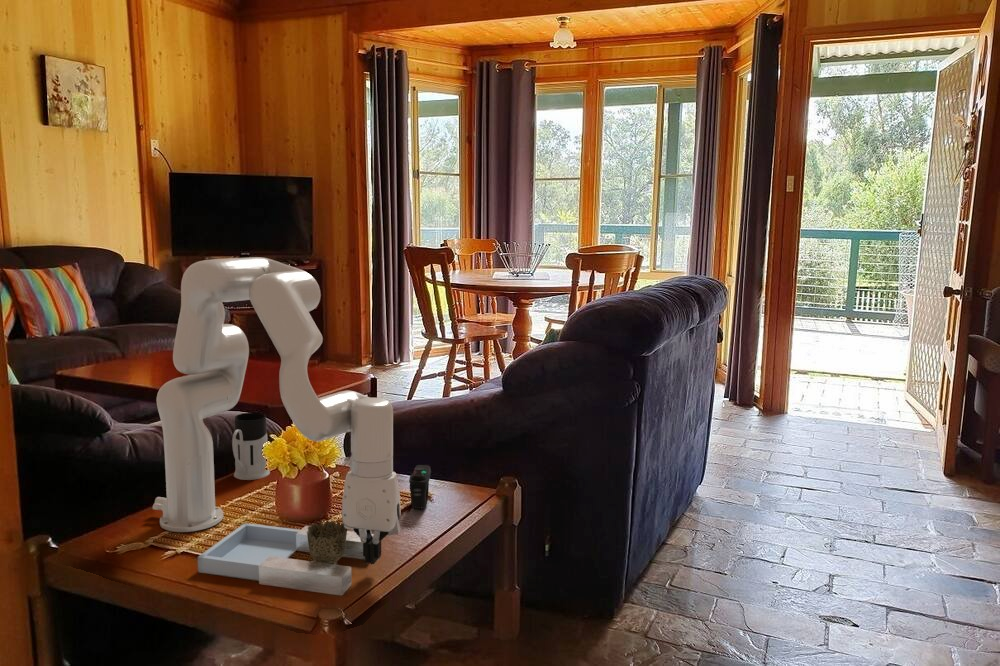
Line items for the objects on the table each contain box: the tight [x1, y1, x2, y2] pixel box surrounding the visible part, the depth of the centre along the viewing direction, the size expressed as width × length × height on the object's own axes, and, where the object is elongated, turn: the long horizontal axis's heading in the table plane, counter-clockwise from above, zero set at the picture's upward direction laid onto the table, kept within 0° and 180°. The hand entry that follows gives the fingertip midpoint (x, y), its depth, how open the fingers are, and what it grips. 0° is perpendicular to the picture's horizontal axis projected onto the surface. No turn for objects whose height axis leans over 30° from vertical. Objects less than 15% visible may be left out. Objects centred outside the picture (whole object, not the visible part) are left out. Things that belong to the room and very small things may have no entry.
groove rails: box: [258, 525, 373, 597], centre depth 142 cm, size 16×18×4 cm
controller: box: [408, 464, 432, 509], centre depth 173 cm, size 4×12×10 cm, turn 179°
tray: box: [197, 522, 301, 582], centre depth 145 cm, size 13×16×3 cm
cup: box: [307, 520, 348, 565], centre depth 142 cm, size 8×7×8 cm
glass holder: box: [231, 412, 271, 481], centre depth 187 cm, size 9×14×15 cm, turn 174°
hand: (372, 560), depth 140 cm, fingers closed
